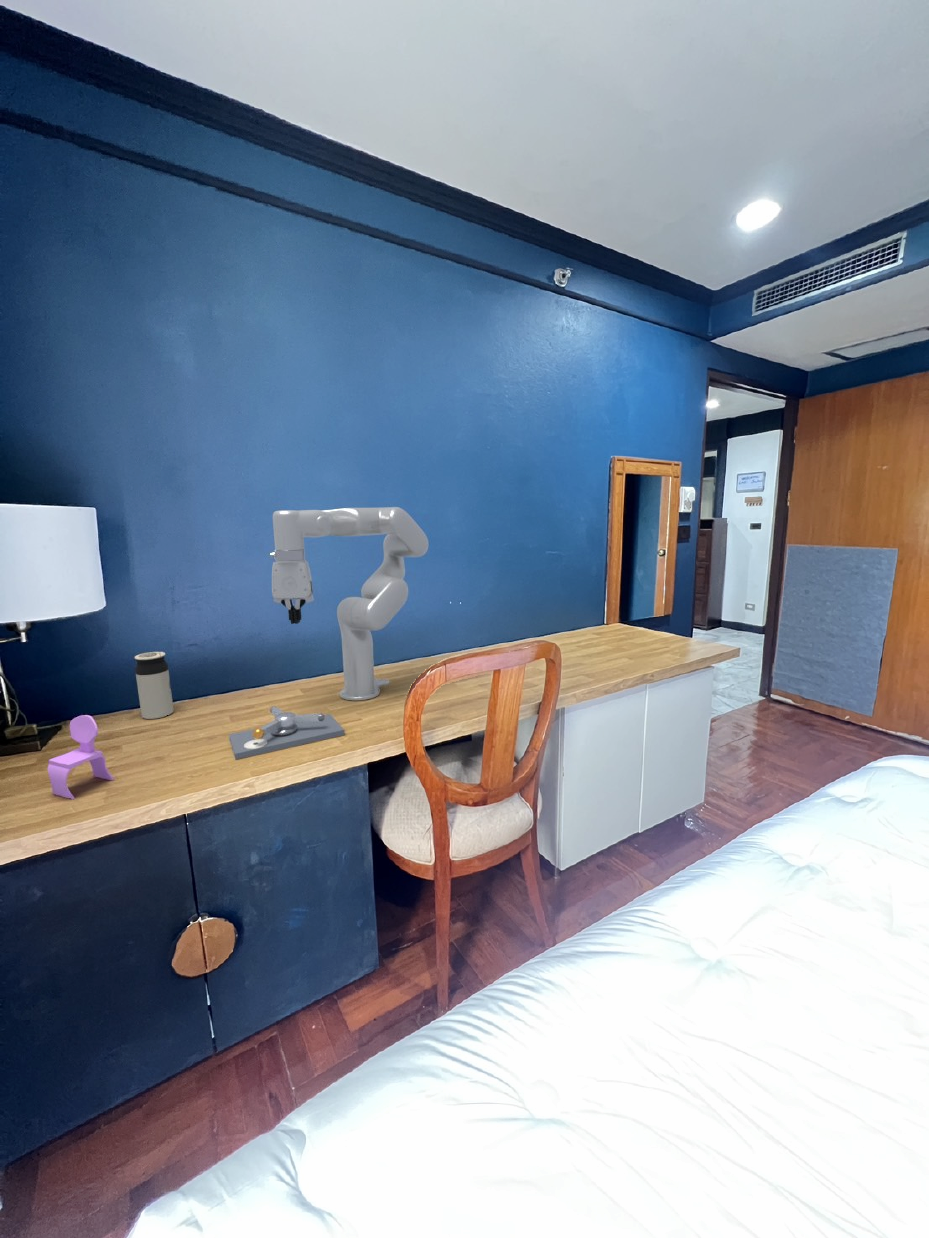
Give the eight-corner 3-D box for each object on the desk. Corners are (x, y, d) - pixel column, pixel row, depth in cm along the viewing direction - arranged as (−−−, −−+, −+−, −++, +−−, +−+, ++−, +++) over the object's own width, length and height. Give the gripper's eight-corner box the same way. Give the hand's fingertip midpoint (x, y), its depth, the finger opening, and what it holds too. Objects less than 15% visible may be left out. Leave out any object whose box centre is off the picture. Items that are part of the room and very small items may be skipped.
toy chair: (47, 794, 102) (34, 725, 99) (92, 774, 110) (81, 710, 107) (73, 801, 99) (61, 731, 96) (117, 780, 107) (107, 715, 104)
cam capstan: (274, 717, 136) (273, 703, 136) (327, 726, 130) (326, 711, 129) (227, 741, 122) (226, 725, 121) (284, 752, 116) (283, 735, 115)
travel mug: (139, 721, 140) (130, 659, 136) (144, 712, 147) (136, 653, 143) (172, 717, 143) (164, 656, 139) (175, 708, 150) (167, 650, 147)
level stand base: (330, 718, 140) (330, 713, 140) (344, 735, 129) (344, 728, 129) (229, 739, 127) (228, 733, 127) (235, 759, 116) (234, 752, 116)
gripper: (257, 558, 131) (263, 626, 134) (314, 557, 131) (319, 625, 135) (267, 556, 138) (272, 620, 142) (321, 555, 139) (325, 619, 142)
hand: (295, 622), depth 138 cm, fingers closed
